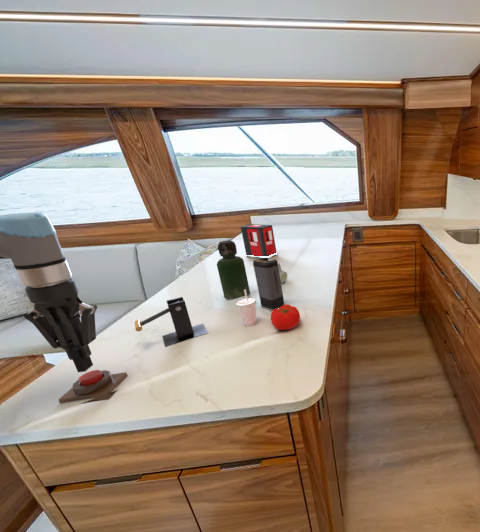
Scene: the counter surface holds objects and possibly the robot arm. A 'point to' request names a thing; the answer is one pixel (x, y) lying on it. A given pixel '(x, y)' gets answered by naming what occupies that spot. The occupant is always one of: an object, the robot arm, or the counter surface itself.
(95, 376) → the red button
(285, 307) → the tomato
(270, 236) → the cleaning product box
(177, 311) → the switch bracket
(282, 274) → the air freshener
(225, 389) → the counter surface
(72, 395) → the button block
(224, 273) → the green bottle
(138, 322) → the switch lever
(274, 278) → the electronic device
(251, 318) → the smoothie
